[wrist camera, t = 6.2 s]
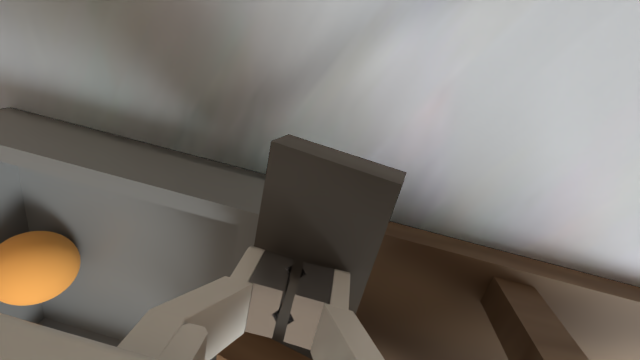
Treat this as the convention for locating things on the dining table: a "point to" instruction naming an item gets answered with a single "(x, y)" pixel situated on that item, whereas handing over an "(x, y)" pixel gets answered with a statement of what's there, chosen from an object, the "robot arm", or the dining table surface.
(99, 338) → the tray
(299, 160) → the lever
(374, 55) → the dining table surface
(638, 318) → the lever stand
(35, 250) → the ball
